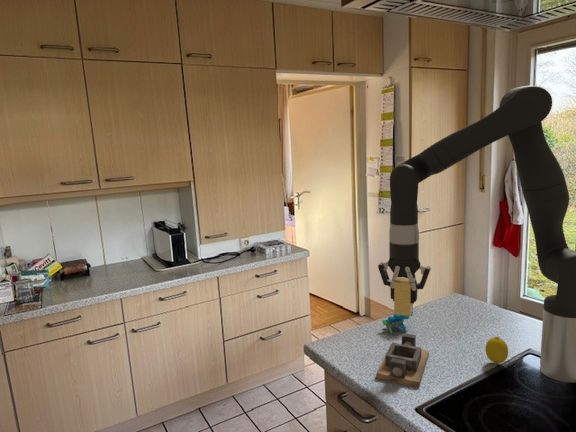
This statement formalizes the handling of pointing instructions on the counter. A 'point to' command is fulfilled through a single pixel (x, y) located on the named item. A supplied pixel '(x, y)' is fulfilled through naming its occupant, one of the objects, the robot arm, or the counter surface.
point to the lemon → (496, 350)
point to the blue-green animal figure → (395, 321)
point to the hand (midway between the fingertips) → (403, 301)
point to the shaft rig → (404, 362)
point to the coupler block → (402, 297)
